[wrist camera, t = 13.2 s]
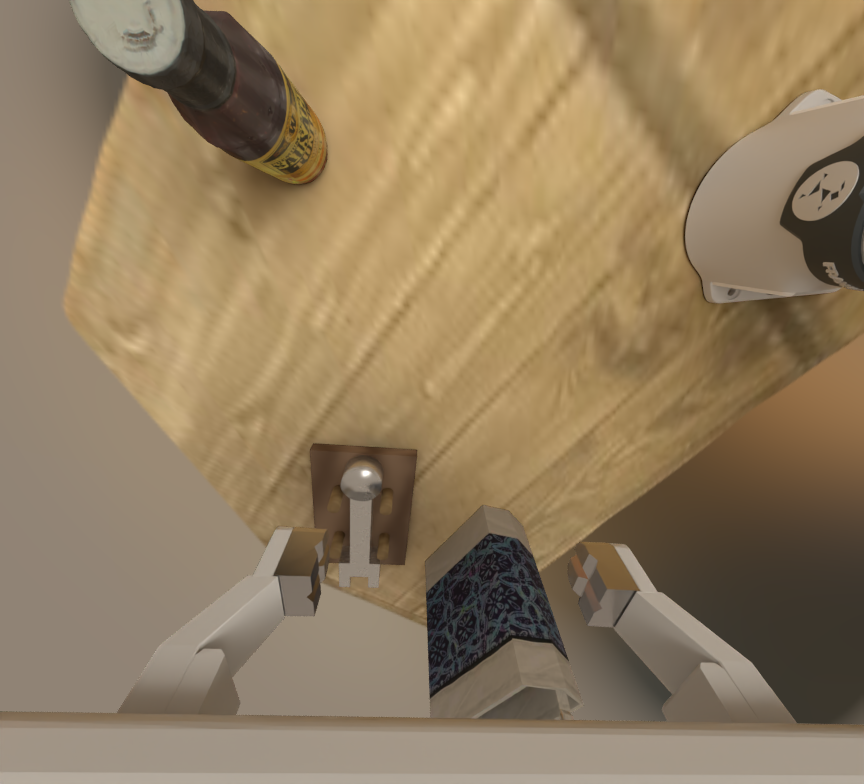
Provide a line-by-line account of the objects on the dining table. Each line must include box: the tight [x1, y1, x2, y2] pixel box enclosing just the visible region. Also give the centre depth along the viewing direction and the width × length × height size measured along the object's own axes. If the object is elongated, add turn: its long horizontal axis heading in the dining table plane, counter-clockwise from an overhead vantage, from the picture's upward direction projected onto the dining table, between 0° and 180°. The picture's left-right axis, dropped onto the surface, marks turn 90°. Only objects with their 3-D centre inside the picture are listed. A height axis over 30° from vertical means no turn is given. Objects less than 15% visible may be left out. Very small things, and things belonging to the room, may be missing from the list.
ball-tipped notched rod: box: [339, 455, 384, 588], centre depth 48 cm, size 23×6×3 cm, turn 174°
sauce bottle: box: [69, 0, 327, 184], centre depth 21 cm, size 7×6×20 cm
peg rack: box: [310, 444, 417, 565], centre depth 48 cm, size 14×22×5 cm, turn 173°
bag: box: [425, 505, 584, 720], centre depth 37 cm, size 18×9×40 cm, turn 144°
